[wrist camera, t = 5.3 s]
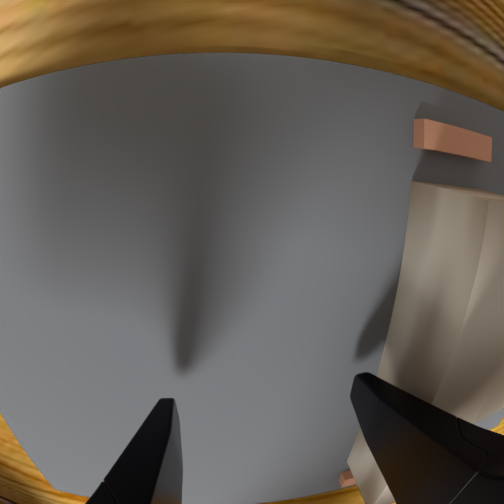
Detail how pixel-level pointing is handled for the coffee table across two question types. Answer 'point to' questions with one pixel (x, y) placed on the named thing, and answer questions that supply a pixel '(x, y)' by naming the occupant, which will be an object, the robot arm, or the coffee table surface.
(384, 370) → the t block
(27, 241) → the mat
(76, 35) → the coffee table surface
